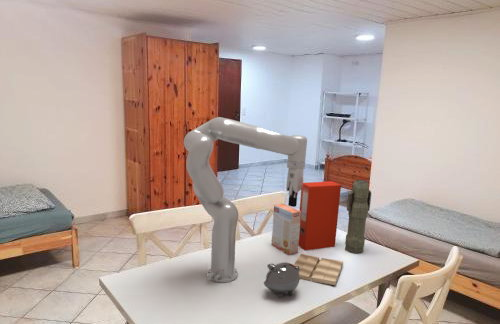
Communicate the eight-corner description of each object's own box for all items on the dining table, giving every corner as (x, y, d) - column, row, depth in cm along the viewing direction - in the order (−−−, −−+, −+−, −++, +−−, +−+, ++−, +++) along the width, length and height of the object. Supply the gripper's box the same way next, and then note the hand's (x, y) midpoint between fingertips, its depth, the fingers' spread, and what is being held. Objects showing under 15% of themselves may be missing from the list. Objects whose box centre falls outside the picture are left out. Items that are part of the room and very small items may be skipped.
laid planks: (310, 281, 147) (310, 277, 147) (288, 275, 151) (288, 272, 151) (320, 261, 166) (321, 257, 165) (300, 256, 169) (301, 253, 169)
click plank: (335, 285, 144) (335, 281, 143) (311, 281, 147) (311, 277, 147) (343, 264, 162) (343, 260, 162) (321, 261, 165) (321, 257, 165)
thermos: (338, 248, 181) (345, 179, 174) (357, 244, 186) (364, 178, 179) (350, 255, 173) (357, 184, 166) (369, 252, 178) (377, 182, 171)
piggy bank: (257, 290, 139) (258, 262, 137) (289, 282, 146) (291, 255, 144) (272, 305, 129) (274, 275, 127) (306, 296, 136) (308, 267, 134)
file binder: (335, 247, 182) (341, 185, 176) (304, 251, 176) (309, 186, 170) (326, 240, 189) (331, 181, 183) (296, 244, 183) (301, 182, 177)
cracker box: (298, 253, 173) (301, 211, 169) (288, 255, 170) (291, 212, 166) (280, 242, 185) (283, 202, 181) (271, 244, 181) (273, 204, 177)
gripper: (299, 168, 147) (295, 212, 150) (309, 163, 160) (305, 203, 164) (282, 166, 150) (278, 208, 153) (292, 161, 163) (289, 200, 166)
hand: (292, 205), depth 158 cm, fingers closed
